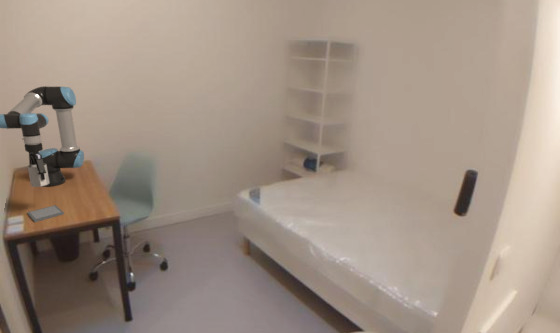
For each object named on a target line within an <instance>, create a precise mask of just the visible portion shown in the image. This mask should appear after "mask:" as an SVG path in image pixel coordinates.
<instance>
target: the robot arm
mask: <svg viewBox="0 0 560 333" xmlns="http://www.w3.org/2000/svg"><path fill="white" fill-rule="evenodd" d="M76 105H77V98H76V94H75V92H74V90H73V89H72V88H71V87H68V86H48V85H47V86H46V85H45V86H39V87H35V88H33V89H32V90H29V91H28V92H27V93H26V94H25V95H24V96H23V99H21V101H19V103H17V104H16V105H15V106H14V107H12V109H11V110H10V111H8V112H7V113H2V114H0V129H7V130H9V129H10V130H11V129H21V132H22V137H23V138H21V140H22V141H23V143H24V150H25V152H27V153H28V160H29V161H28V163H29V164H28V165H31V164H32V165H36V166H37V169H38V172H39V173H38V175H39V180H40V185H41V187H44V188H45V187H47V188H49V187H56V186H61V185H63V184H64V183H65V182H66V177H65V175H64V174H63V173H62V170H61V169H75V168H76V169H77V168H81V167H82V166H83V165H84V161H85V152H84V151H83V150H81V148H80V146H78V144H77V139H76V132H75V126H74V121H73V120H74V119H73V113H72V111H73V109H74V106H76ZM42 106H51V109H52V110H54V111H55V114H56V120H57V121H56V122H57V125H58V132H59V138H60V139H59V140H60V143H61V147H60V148H59V150H58V149H57V148H55V147H53V148H51V147H50V148H46V149H44V148H43V143H42V142H43V141H42V136H41V131H40V130H41V129H42V128H44V127H46V126H47V125H48V124H49V117H48V116H47V115H46V114H44V113H43V112H41V113H40V112H39V113H33V112H34V110H35V109H36V108H40V107H42ZM44 163H45V164H46V165H47V171H48V177H49V182H50V183H49V184H48V185H47V183H46V177H45V173H46V170H45V167H44ZM43 185H46V186H43Z"/></svg>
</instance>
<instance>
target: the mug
mask: <svg viewBox="0 0 560 333" xmlns="http://www.w3.org/2000/svg"><path fill="white" fill-rule="evenodd" d="M44 167H45V170H46V173H45V177H46V183H47V185H48V184H49V183H50V182H49V177H48V171H47V165H46V164H45V163H44ZM27 170H28V177H29V181H30V186H31V187H33V188H40V187H44V186H46V185H43V186H41V185H40V180H39V175H38V173H39V172H38V169H37V166H36V165H32V164H31V165H29V164H28V165H27Z"/></svg>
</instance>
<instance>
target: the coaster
mask: <svg viewBox="0 0 560 333" xmlns="http://www.w3.org/2000/svg"><path fill="white" fill-rule="evenodd" d="M26 214H27V216H28V217H29V218H30V219H31V220H32V221H33V222H34V223H37V222H41V221H44V220H48V219H51V218H57V217H58V216H59V217H60V216H63V215H64V214H65V212H64V211H63V210H62V209H61V208H59V206H57V205H56V204H55V205H50V206H46V207H43V208H39V209H34V210H31V211H27V212H26Z"/></svg>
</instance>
